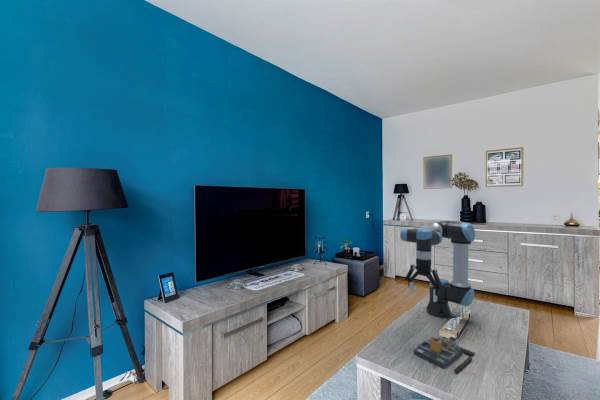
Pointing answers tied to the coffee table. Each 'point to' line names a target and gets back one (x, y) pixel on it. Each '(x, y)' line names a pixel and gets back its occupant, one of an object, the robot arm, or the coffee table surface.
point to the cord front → (463, 350)
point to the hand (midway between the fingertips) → (422, 297)
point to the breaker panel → (445, 357)
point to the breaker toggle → (436, 345)
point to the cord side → (462, 364)
